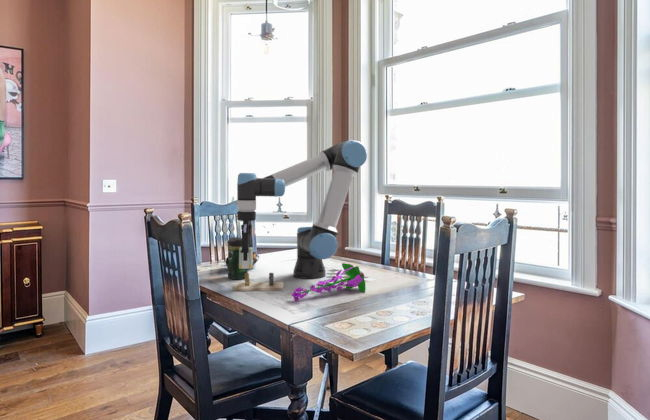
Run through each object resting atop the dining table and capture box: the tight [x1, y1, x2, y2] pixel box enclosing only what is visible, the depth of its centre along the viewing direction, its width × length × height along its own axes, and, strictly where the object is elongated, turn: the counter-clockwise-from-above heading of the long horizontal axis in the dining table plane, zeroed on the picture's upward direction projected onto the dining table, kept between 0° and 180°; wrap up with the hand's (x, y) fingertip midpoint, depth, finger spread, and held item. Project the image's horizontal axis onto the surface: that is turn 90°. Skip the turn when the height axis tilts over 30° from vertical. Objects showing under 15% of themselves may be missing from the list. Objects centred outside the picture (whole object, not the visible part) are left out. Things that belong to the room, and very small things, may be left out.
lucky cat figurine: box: [225, 251, 260, 269], centre depth 211 cm, size 15×12×14 cm
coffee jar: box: [227, 236, 249, 280], centre depth 194 cm, size 10×8×19 cm
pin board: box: [232, 272, 284, 292], centre depth 176 cm, size 20×10×6 cm, turn 95°
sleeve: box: [239, 246, 254, 270], centre depth 175 cm, size 5×5×8 cm
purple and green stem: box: [291, 262, 366, 302], centre depth 166 cm, size 12×16×35 cm
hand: (246, 266), depth 175 cm, fingers closed on sleeve, 5 cm apart
